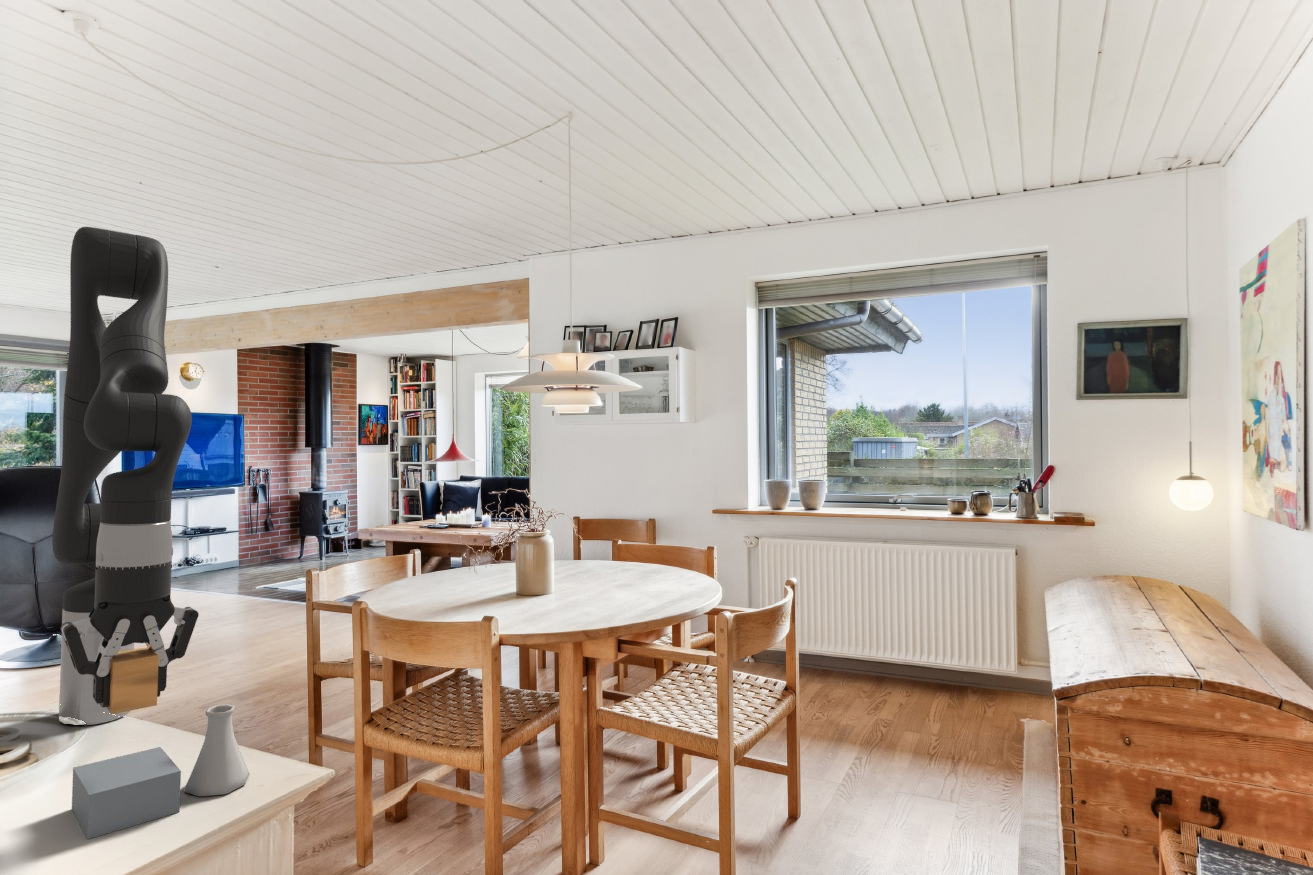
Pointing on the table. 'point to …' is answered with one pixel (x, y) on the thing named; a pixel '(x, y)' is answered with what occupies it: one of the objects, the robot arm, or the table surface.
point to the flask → (218, 757)
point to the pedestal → (125, 791)
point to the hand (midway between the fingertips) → (129, 699)
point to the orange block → (133, 680)
